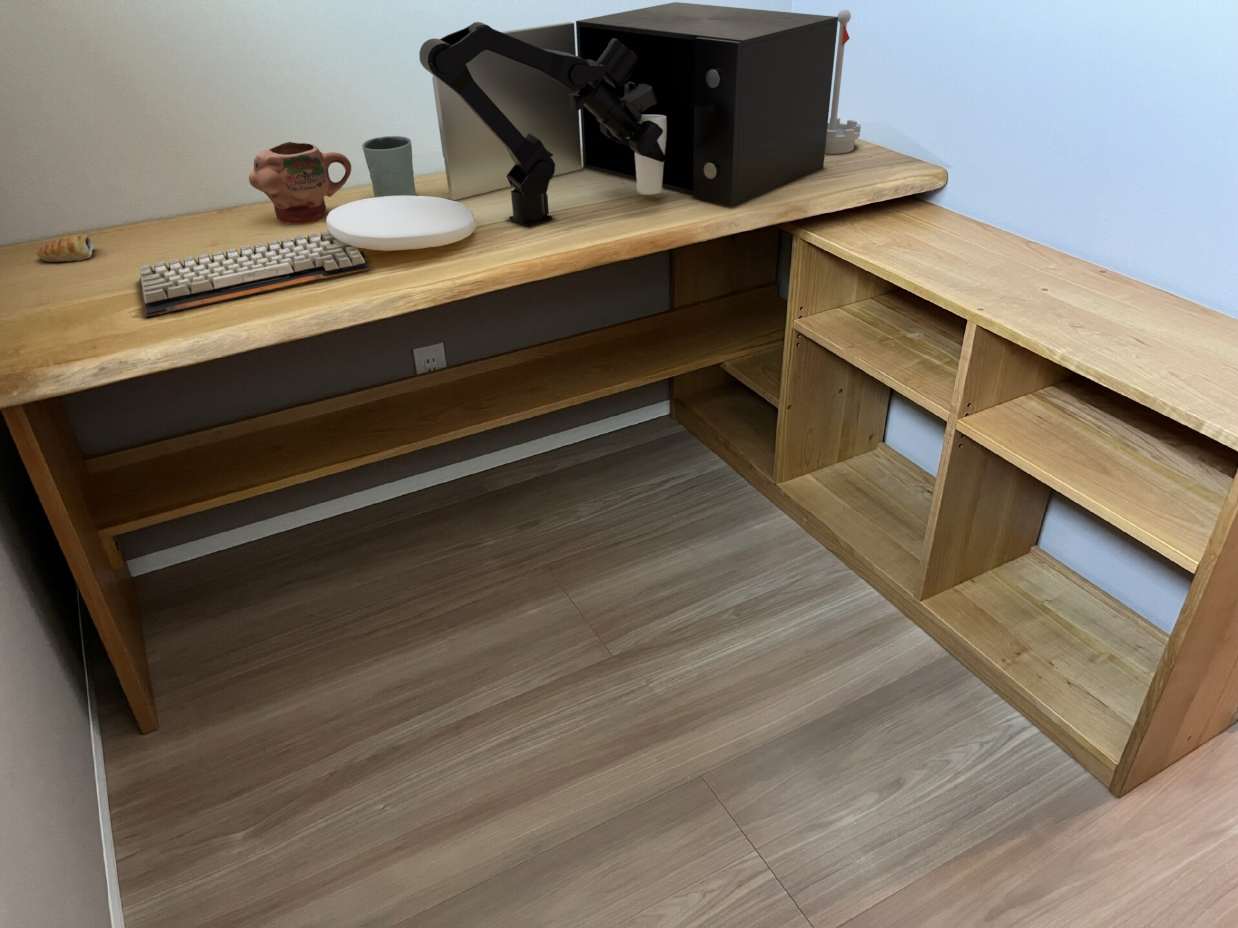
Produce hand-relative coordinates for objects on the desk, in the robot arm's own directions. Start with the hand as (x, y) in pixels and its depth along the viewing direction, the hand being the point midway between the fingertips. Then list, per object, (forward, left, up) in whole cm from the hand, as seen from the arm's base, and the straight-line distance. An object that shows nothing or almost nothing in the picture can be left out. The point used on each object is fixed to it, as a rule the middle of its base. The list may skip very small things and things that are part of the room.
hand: (656, 156), depth 183 cm
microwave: (+21, +8, -9) cm, 24 cm away
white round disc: (-51, +17, -8) cm, 54 cm away
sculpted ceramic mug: (-57, +44, -9) cm, 73 cm away
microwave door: (-14, +32, -8) cm, 36 cm away
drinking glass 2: (-2, 0, -7) cm, 8 cm away
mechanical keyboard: (-79, +21, -9) cm, 82 cm away
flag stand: (+55, -4, -9) cm, 56 cm away
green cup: (-39, +40, -9) cm, 57 cm away
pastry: (-100, +56, -9) cm, 115 cm away
